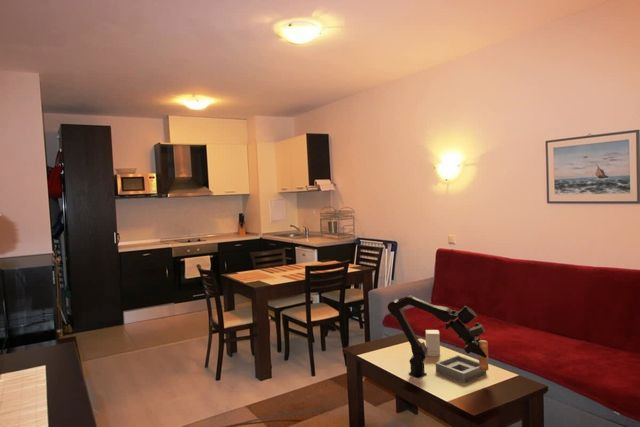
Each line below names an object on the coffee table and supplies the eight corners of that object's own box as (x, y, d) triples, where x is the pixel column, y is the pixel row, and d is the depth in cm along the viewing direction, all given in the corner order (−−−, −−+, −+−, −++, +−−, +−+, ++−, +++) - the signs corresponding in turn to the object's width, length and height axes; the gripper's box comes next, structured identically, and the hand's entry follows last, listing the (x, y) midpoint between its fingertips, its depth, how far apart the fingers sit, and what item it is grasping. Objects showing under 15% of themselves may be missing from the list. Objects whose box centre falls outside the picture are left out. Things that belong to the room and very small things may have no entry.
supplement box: (440, 356, 239) (439, 333, 238) (426, 356, 240) (425, 333, 240) (439, 351, 246) (438, 329, 246) (426, 351, 248) (425, 329, 247)
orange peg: (484, 371, 201) (484, 343, 200) (477, 368, 204) (476, 341, 203) (490, 369, 203) (489, 341, 202) (482, 366, 206) (482, 339, 206)
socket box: (463, 383, 205) (463, 373, 205) (435, 371, 219) (435, 363, 219) (486, 373, 214) (485, 364, 214) (458, 363, 228) (457, 354, 228)
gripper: (471, 324, 196) (498, 351, 191) (475, 313, 212) (500, 338, 208) (453, 340, 199) (480, 367, 195) (458, 328, 216) (483, 352, 212)
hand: (486, 355), depth 202 cm, fingers closed on orange peg, 4 cm apart
